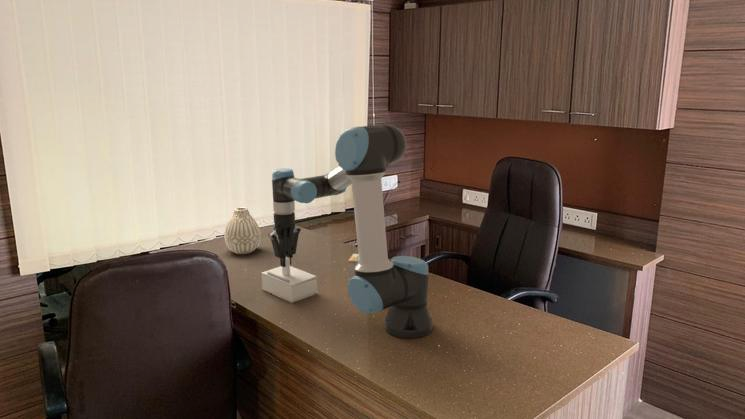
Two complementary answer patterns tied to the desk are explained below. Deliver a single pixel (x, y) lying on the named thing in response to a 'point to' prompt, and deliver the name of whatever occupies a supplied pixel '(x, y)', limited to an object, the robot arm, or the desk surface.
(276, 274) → the cover
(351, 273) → the supplement box
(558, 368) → the desk surface
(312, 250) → the desk surface
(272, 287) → the open white tray
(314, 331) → the desk surface
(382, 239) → the robot arm
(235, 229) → the vase
